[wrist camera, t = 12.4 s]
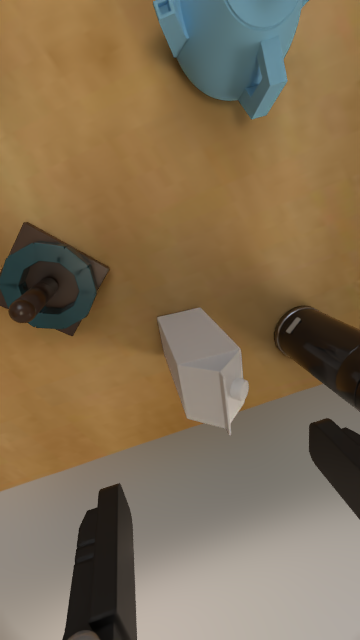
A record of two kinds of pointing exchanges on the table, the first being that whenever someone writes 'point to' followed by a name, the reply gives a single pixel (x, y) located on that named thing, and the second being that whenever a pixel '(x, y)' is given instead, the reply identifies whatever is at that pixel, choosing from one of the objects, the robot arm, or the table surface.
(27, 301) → the stand
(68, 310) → the ring
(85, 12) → the table surface
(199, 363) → the milk carton
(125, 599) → the robot arm
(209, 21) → the teapot
